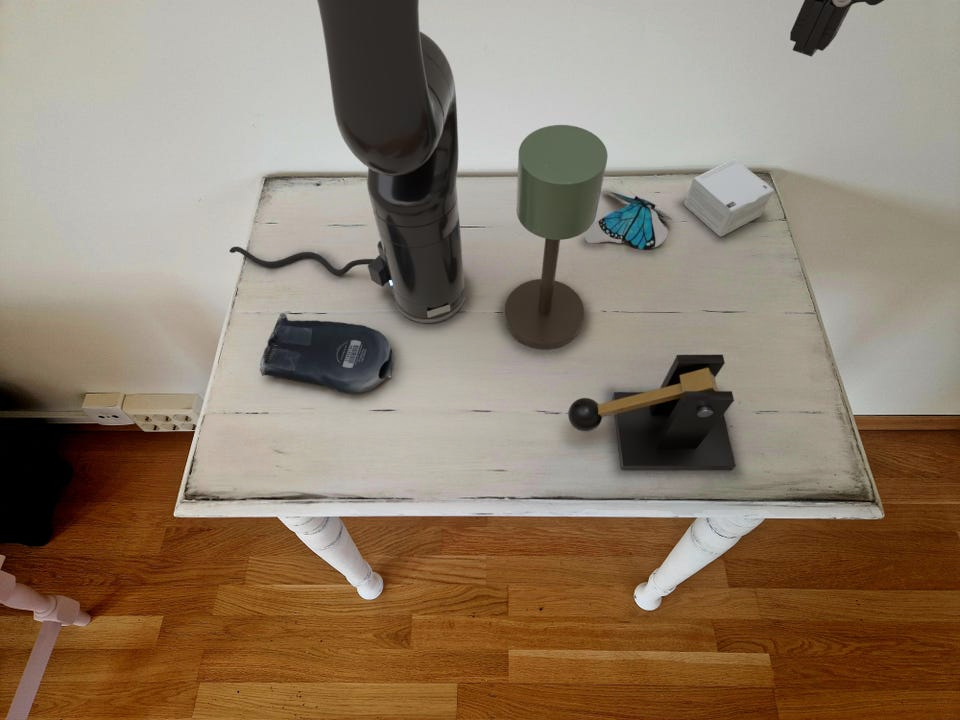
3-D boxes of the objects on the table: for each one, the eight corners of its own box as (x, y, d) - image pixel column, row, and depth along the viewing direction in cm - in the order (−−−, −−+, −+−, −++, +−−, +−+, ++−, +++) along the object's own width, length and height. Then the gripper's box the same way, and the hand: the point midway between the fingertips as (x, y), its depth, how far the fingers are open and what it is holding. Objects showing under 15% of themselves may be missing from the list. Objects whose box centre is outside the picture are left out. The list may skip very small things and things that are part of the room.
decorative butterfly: (670, 243, 74) (600, 209, 74) (647, 271, 80) (582, 239, 80) (687, 191, 79) (621, 160, 79) (664, 221, 84) (603, 191, 84)
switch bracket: (621, 469, 63) (647, 420, 52) (612, 396, 67) (634, 337, 56) (731, 470, 62) (782, 420, 51) (715, 396, 67) (758, 336, 56)
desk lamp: (489, 323, 73) (485, 161, 51) (533, 274, 77) (548, 104, 55) (554, 363, 70) (579, 208, 48) (597, 310, 74) (639, 144, 52)
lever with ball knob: (578, 439, 62) (563, 428, 60) (575, 409, 64) (561, 397, 62) (722, 406, 55) (712, 391, 52) (715, 373, 57) (705, 358, 54)
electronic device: (269, 394, 70) (383, 401, 67) (248, 366, 66) (369, 372, 63) (297, 337, 76) (403, 341, 73) (280, 308, 72) (392, 311, 68)
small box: (722, 184, 85) (735, 156, 80) (761, 217, 81) (776, 189, 77) (681, 204, 83) (692, 176, 78) (719, 239, 79) (732, 211, 75)
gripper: (808, -300, 29) (701, 43, 43) (1115, -259, 24) (880, 107, 39) (860, -331, 31) (744, 0, 46) (1142, -301, 27) (914, 54, 42)
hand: (806, 48), depth 43 cm, fingers closed
